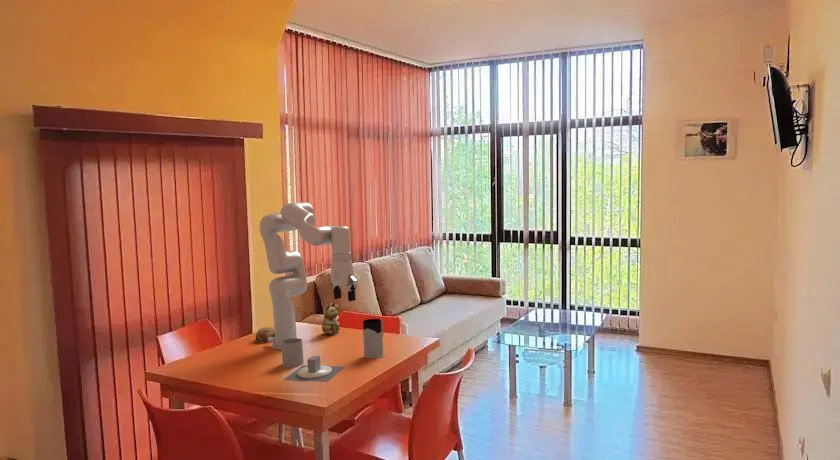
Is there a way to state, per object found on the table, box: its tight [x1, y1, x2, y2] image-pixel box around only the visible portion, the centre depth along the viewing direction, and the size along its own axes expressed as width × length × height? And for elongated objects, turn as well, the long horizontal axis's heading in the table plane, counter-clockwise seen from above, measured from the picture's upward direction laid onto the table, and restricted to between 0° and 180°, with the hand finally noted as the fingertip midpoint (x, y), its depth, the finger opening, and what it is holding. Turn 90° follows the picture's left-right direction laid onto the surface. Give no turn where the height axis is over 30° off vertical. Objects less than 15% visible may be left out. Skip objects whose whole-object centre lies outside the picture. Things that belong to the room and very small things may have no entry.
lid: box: [297, 355, 332, 379], centre depth 240 cm, size 13×13×6 cm
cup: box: [281, 338, 305, 368], centre depth 254 cm, size 8×8×10 cm
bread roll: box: [255, 326, 275, 344], centre depth 297 cm, size 10×10×8 cm
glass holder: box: [362, 318, 386, 359], centre depth 263 cm, size 9×14×15 cm, turn 156°
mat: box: [282, 364, 346, 382], centre depth 240 cm, size 18×18×1 cm
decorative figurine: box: [321, 302, 341, 336], centre depth 303 cm, size 10×8×15 cm
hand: (344, 299), depth 253 cm, fingers open, 9 cm apart
